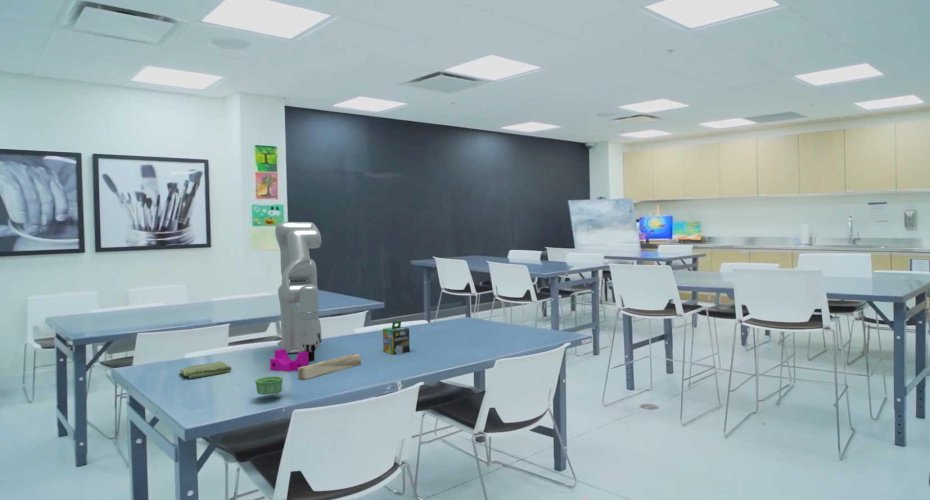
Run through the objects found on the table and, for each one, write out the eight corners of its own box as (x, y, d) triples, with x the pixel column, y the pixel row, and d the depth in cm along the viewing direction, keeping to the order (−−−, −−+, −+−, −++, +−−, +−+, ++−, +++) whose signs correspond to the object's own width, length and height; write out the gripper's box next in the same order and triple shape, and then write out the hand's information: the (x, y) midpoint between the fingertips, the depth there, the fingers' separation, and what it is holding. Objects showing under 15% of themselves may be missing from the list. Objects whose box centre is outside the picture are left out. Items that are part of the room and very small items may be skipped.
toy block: (270, 369, 232) (269, 351, 232) (281, 366, 238) (281, 348, 238) (297, 373, 225) (297, 354, 225) (308, 369, 231) (308, 351, 231)
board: (298, 378, 215) (297, 367, 214) (353, 363, 240) (353, 353, 240) (305, 379, 212) (305, 369, 212) (360, 364, 238) (360, 354, 238)
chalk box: (399, 350, 267) (398, 319, 267) (410, 353, 260) (409, 320, 260) (382, 353, 261) (381, 321, 261) (393, 356, 254) (392, 322, 254)
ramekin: (266, 388, 202) (266, 375, 202) (288, 389, 199) (288, 376, 199) (249, 394, 193) (249, 381, 193) (272, 396, 190) (272, 382, 190)
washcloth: (177, 374, 229) (177, 366, 229) (224, 367, 240) (223, 360, 240) (185, 380, 218) (184, 371, 218) (233, 372, 229) (232, 364, 229)
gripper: (289, 316, 233) (290, 361, 233) (315, 318, 225) (316, 364, 225) (303, 314, 239) (304, 357, 240) (329, 316, 231) (330, 361, 232)
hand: (310, 361), depth 232 cm, fingers closed
